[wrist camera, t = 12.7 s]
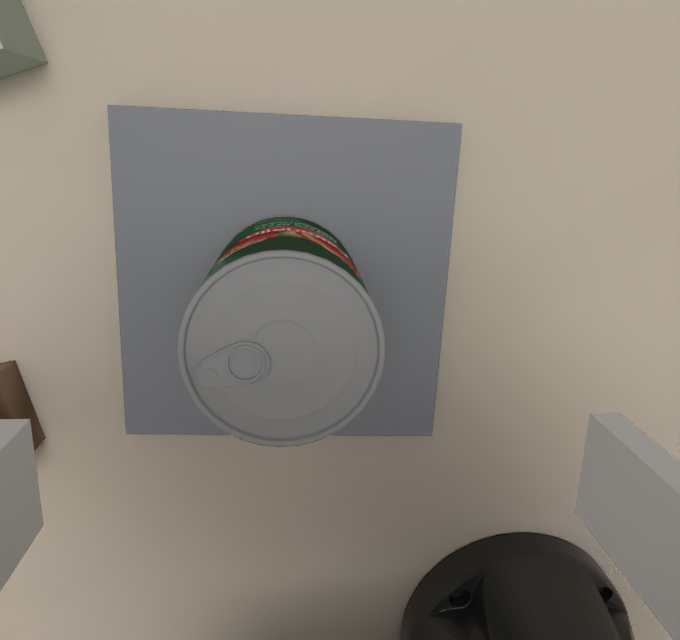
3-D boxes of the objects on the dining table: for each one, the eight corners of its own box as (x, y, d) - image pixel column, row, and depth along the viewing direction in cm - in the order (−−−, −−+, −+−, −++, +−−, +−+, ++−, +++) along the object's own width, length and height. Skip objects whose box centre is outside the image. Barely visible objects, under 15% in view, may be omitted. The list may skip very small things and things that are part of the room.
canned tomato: (334, 195, 32) (354, 222, 22) (374, 330, 35) (409, 413, 24) (191, 239, 32) (143, 288, 22) (241, 371, 35) (219, 472, 24)
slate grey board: (428, 428, 38) (431, 436, 37) (130, 426, 36) (126, 434, 35) (457, 124, 33) (462, 123, 32) (113, 106, 31) (107, 104, 30)
